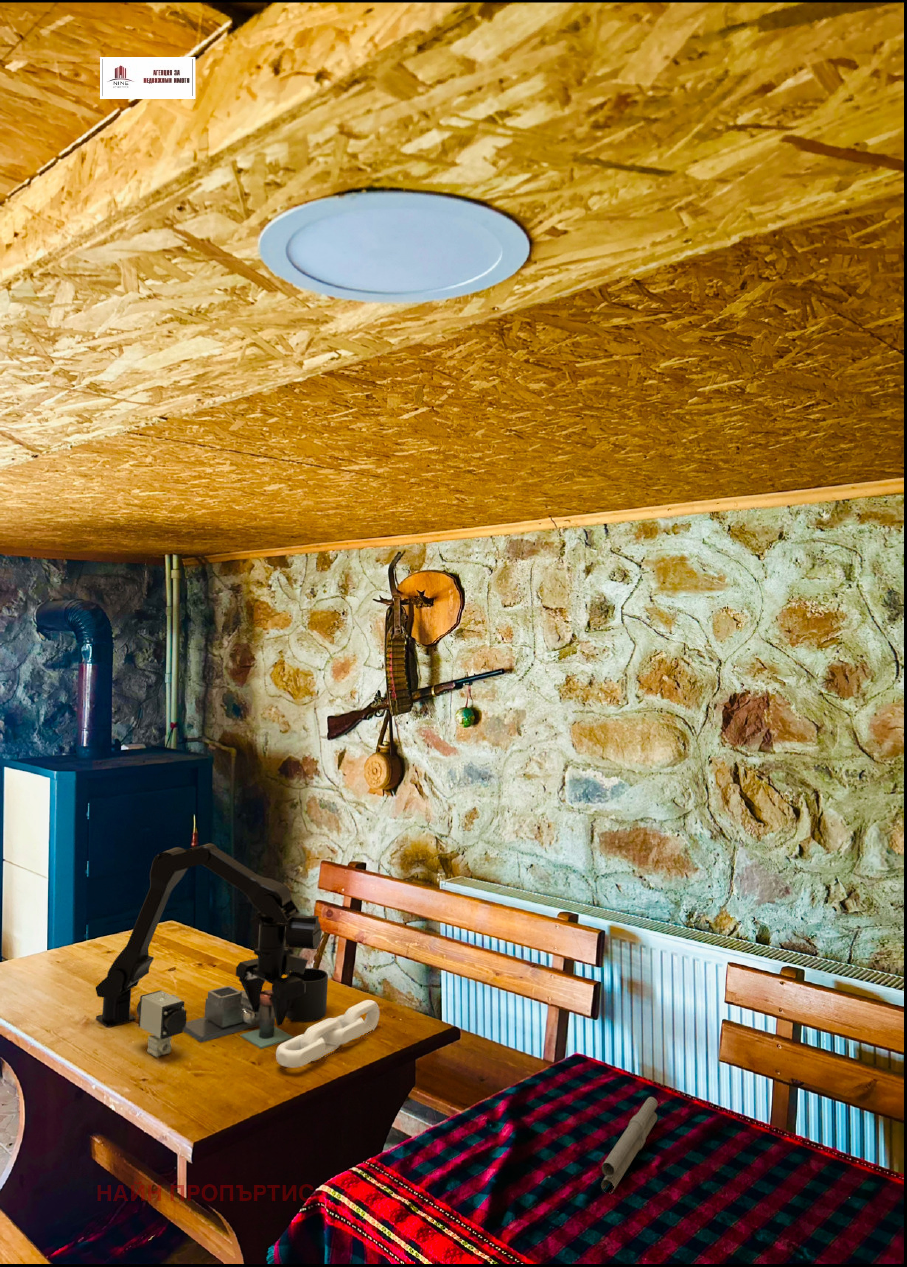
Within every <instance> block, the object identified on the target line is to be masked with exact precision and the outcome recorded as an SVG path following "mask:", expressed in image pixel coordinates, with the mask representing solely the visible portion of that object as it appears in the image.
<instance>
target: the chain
mask: <svg viewBox="0 0 907 1267" xmlns="http://www.w3.org/2000/svg"><path fill="white" fill-rule="evenodd" d="M364 1014H366V1016H365V1018H364V1019H363V1018H362V1017H361V1016H362V1015H364ZM379 1019H380V1007H379V1005H378V1003H377V1002H376V1001H374V1000H371V999H366V1000H365V999H364V1000H363V1001H361V1002H359V1003H357V1004H355V1005H353V1006H351V1007H349V1008H347V1009H346V1011H345V1013H344V1014H341V1015H338V1016H335V1017H328V1018H325V1019H323V1020H322V1021H320V1022H317V1023H315V1024H313V1025H311V1026H308V1027H307V1029H306V1030H305V1032H304V1033H302V1034H300V1035H297V1036H293V1038H292V1039H290V1040H287V1041H284V1042H281V1043H279V1045H278V1046H277V1048H276V1050H275V1059H276V1061H277V1064H279V1065H280V1066H283V1067H285V1068H292V1069H293V1068H301V1067H304V1066H305V1065H307V1064H310V1063H311V1061H315V1060H317V1059H319V1058H321V1057H323V1056H324V1055H326V1054H328V1053H330V1052H332V1051H334V1050H335V1049H337V1048H338V1049H339V1047H340V1045H344V1044H347V1043H349V1042H351V1041H353V1040H352V1039H355V1038H358V1037H360V1036H361V1035H364V1034H365V1033H368V1032H369V1031H371V1030H373V1031H374V1030H375V1029H376V1028H377V1026H378V1023H379ZM368 1034H369V1033H368ZM338 1049H337V1050H338ZM315 1062H316V1061H315Z"/></svg>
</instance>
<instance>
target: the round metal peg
mask: <svg viewBox="0 0 907 1267" xmlns="http://www.w3.org/2000/svg"><path fill="white" fill-rule="evenodd" d="M271 995H273V992H272V989H265V990H262V992H260V1024H259V1026H258V1027H259V1028H258V1029H259V1037H260V1038H262V1039H269V1038H272V1037H273V1036H274V1027H276V1026H275V1025H276V1019H275V1014H274V1009H273V1004H272V999H271Z"/></svg>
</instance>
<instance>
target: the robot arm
mask: <svg viewBox="0 0 907 1267" xmlns="http://www.w3.org/2000/svg"><path fill="white" fill-rule="evenodd" d="M199 865H200V866H203V867H205V868H207V869H208V870H210V871H211V872H213V873H214V874H216V876H219V877H220V878H222V880H225V881H226V882H228V883H229V884H230V885H232V886H233V887H235V888H236V889H238V890H240V891H241V892H242V893H243V894H245V896H247V898H248V900H249V902H250V903H251V904H252V906H253V907H254V908H255V909H256V910H258V912H257V913H256V915H255V916H254V917H252V918H251V919H250V920H249V923H250V924H253V925H254V924H255V925H259V926H258V929H259V930H258V946H257V948H254V949H253V955H255V956H257V957H256V958H253V959H248V960H243V961H240V962H239V963H238V964H237V966H235V976H236V977H237V978H238V981H239V982H240V983H241V986H242V988H243V989H244V990H243V991H245V992H246V995H247V997H248V999H249V1002H250V1004H251V1007H252V1009H253V1012H255V1013H256V1012H258V1011H259V1008H260V992H262V991H263V987H264V984H265V983H266V982H267V983H269V984H270V985H271V990H272V992H273V995H271V999H272V1004H273V1009H274V1014H275V1024H276V1025H277V1027H280V1026H283V1023H284V1022H285V1019H286V1014H287V1011H288V1009H289V1006H290V1004H291V1002H292V1001H293V999H294V998H295V997H298V996H300V995H301V994H304V993H305V986H306V983H305V982H304V981H303V980H302V979H300V978H298V977H295V976H289V977H287V975H288V974H290V972H291V971H293V972H298V973H300V974H304V971H305V968H307V964H308V961H309V959H307V958H305V957H302V956H300V955H298V954H295V953H294V951H293V950H294V949H293V948H295V949H296V948H298V949H305V950H306V949H307V950H317V949H318V948H319V946H320V943H321V938H322V930H323V929H322V928H321V923H320V921H319V918H320V917H319V915H303V914H302V915H300V913H301V912H300V910H299V909H298V907H297V905H296V904H295V902H294V900H293V899H292V895H291V889H290V888H289V887H288V886H287V885H286V884H284V883H282V882H280V881H277V880H275V879H272V878H270V877H269V878H268V877H264V876H261V875H259V874H258V873H255V872H254V871H253V870H251V869H250V868H248V867H247V866H245V865H244V864H242V863H240V862H239V861H237V860H236V859H234V858H233V857H232V856H230V855H228V854H227V853H225V851H222V850H221V849H219V848H218V847H217V845H215V844H213V843H212V842H211V843H206V844H203V845H200V846H195V847H191V848H188V849H185V848H182V847H173V848H170V849H168V850H165V851H163V852H160V853H158V854H157V855H156V856H154V858H153V860H152V863H151V869H150V872H149V880H150V887H149V890H148V892H147V894H146V897H145V898H144V899H145V900H144V902H143V905H142V906H141V910H140V912H139V914H138V917H137V920H136V922H135V924H134V927H133V929H132V932H131V935H130V936H129V938H128V942H127V944H126V945H125V947H124V948H123V949H122V951H120V952H119V954H118V955H117V956H116V957H115V959H114V961H113V963H112V964H111V966H110V967H109V969H108V970H107V976H106V977H105V978H104V979H103V980H102V981H100V982H99V983H98V984H97V985H96V986H95V992H96V997H98V998H103V999H102V1000H103V1001H102V1014H99V1015H96V1016H95V1019H96V1020H97V1021H99V1022H100V1023H102V1024H103V1025H104V1026H105V1027H108V1028H109V1027H113V1026H118V1025H121V1024H125V1023H129V1022H134V1021H136V1016H134V1015H133V1014H132V1013H131V1001H132V999H131V998H132V989H133V988H135V987H137V986H138V985H139V983H140V980H142V979H143V978H144V977H145V976H146V975H148V974H149V973H150V967H151V964H152V963H153V961H154V959H155V957H154V956H152V955H149V947H150V944H151V941H152V940H153V937H154V934H155V932H156V930H157V927H158V925H159V923H160V919H161V917H162V915H163V912H164V910H165V907H166V906H167V903H168V900H169V898H170V895H171V892H172V891H173V889H174V888H175V887H176V885H177V884H178V883H179V882H180V880H182V879H183V876H185V874H186V872H187V870H188V869H190V868H193V867H196V866H199ZM283 910H284V911H285V912H284V911H283ZM286 945H288V946H289V947H287V946H286ZM283 976H285V977H283Z"/></svg>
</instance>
